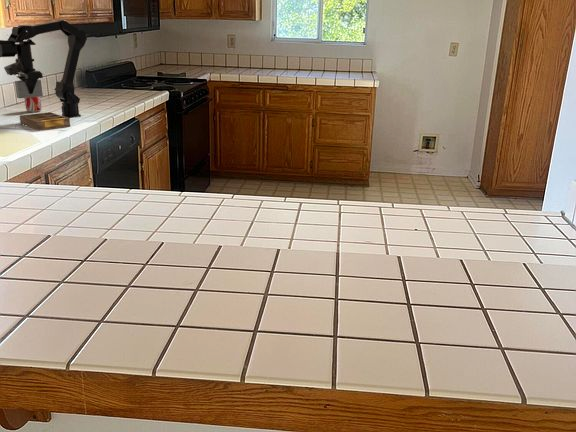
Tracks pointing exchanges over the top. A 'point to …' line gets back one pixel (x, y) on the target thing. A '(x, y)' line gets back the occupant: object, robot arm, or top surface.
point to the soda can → (33, 104)
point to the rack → (44, 121)
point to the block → (23, 89)
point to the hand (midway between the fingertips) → (29, 93)
